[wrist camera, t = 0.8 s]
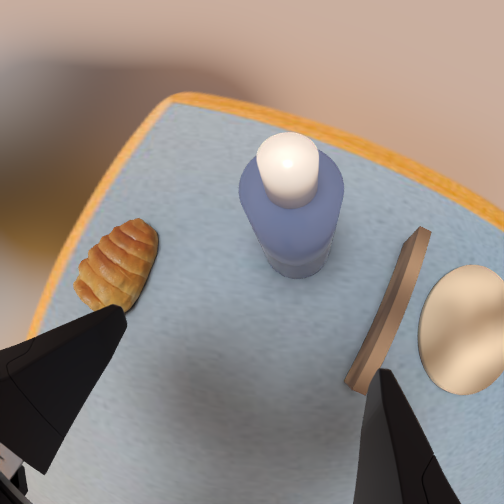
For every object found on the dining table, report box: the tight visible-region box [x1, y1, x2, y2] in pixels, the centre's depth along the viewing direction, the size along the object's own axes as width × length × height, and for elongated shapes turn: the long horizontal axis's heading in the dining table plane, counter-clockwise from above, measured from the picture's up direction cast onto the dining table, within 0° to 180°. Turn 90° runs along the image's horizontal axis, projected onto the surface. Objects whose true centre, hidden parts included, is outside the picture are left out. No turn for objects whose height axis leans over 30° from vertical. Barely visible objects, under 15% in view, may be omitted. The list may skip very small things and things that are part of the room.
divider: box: [344, 226, 431, 395], centre depth 19 cm, size 12×1×4 cm, turn 152°
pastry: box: [73, 218, 158, 313], centre depth 24 cm, size 9×7×4 cm
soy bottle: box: [239, 132, 344, 279], centre depth 17 cm, size 5×5×12 cm
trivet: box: [418, 265, 504, 395], centre depth 18 cm, size 11×11×1 cm
